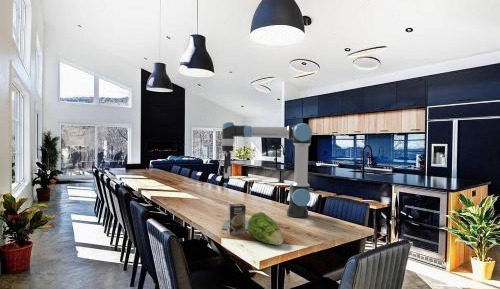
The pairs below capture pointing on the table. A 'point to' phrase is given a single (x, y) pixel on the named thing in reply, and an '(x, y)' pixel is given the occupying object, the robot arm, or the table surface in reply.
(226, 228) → the mat
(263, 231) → the lettuce
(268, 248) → the table surface
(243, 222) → the coffee box
